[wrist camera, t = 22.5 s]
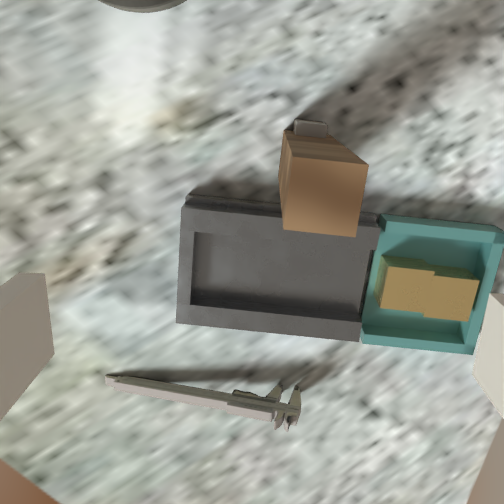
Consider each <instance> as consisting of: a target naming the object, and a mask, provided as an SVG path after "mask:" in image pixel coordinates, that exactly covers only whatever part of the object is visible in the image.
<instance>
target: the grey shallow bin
mask: <svg viewBox="0 0 504 504" xmlns="http://www.w3.org/2000/svg"><path fill="white" fill-rule="evenodd" d="M376 218H377V216H376V215H375V214H374V213H367V212H360V215H359V221H358V226H357V232H356V237H347V236H338V235H329V234H320V233H311V232H302V231H293V230H284V229H283V220H282V210H281V204H280V203H270V202H261V201H251V200H241V199H232V198H222V197H212V196H202V195H193V194H188V195H187V196H186V202H185V204H184V205H183V206H182V208H181V228H180V248H179V269H178V290H177V310H176V323H180V324H190V325H200V326H209V327H219V328H229V329H238V330H248V331H257V332H267V333H277V334H286V335H296V336H306V337H315V338H325V339H335V340H344V341H354V342H359V338H360V333H361V327H362V320H361V318H360V315H359V308H360V303H361V297H362V292H363V287H364V281H365V276H366V271H367V266H368V260H369V255H370V250H377V245H378V240H379V235H380V230H381V228H380V227H379V225H378V224H377V223H376Z"/></svg>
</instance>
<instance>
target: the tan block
mask: <svg viewBox="0 0 504 504" xmlns="http://www.w3.org/2000/svg"><path fill="white" fill-rule="evenodd" d="M429 266H430V267H431V268H432V269H433V270H434V271H435V273H434V277H433V281H432V285H431V289H430V293H429V297H428V301H427V305H426V309H425V313H421V314H422V315H423V317H429V318H438V319H447V320H456V321H466V322H468V320H469V317H470V313H471V310H472V306H473V303H474V299H475V296H476V292H477V289H478V285H479V281H480V280H478V279H477V278H476V277H475V276H474V275H473V274H472V273H471V272H470V271H469V270H467V269H466V268H459V267H450V266H441V265H431V264H429Z"/></svg>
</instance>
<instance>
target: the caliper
mask: <svg viewBox="0 0 504 504" xmlns="http://www.w3.org/2000/svg"><path fill="white" fill-rule="evenodd" d="M105 381H106V384H107V386H113V387H114V390H117V391H123V392H128V393H133V394H139V395H144V396H150V397H155V398H161V399H166V400H172V401H177V402H183V403H189V404H194V405H200V406H205V407H211V408H216V409H222V410H227V413H228V414H233V415H238V416H243V417H249V418H254V419H259V420H264V421H270V422H271V421H272V419H275V420H274V430H276V429H277V428H279V427H280V426H281V425H282V423H283V421H284V429H285V431H286V432H288V429H289V426H290V425H296V424H297V421H298V418H299V416H300V413H301V396H300V388H299V387H297V386H295V387H294V390H293V393H292V395H291V398H290V400H289V403H288V404H286V403H281V402H279V401H280V399H281V394H282V385H277V386H276V387H275V388H274V389H273V390H272V391H271V392H270V393H269V394H268V395H267V396H266V397H260V396H258V395H256V394H253V393H251V392H243V391H240V390H234V391H233V393H232V394H230V393H224V392H219V391H213V390H207V389H201V388H195V387H189V386H184V385H178V384H172V383H167V382H161V381H155V380H150V379H144V378H139V377H133V376H118V377H115V376H110V375H105Z"/></svg>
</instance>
